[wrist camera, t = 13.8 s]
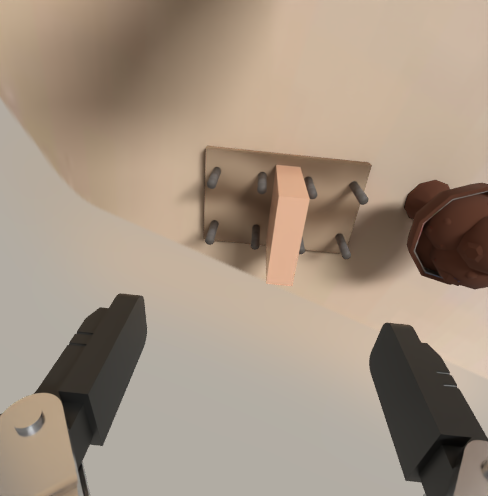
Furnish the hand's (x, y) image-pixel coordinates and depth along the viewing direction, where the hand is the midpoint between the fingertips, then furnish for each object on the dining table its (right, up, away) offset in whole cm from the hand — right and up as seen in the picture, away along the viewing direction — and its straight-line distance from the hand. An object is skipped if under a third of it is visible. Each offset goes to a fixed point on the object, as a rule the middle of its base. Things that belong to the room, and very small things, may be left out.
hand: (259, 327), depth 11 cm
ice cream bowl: (+22, +9, +29) cm, 37 cm away
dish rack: (+4, +9, +30) cm, 31 cm away
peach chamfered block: (+4, +8, +29) cm, 30 cm away
